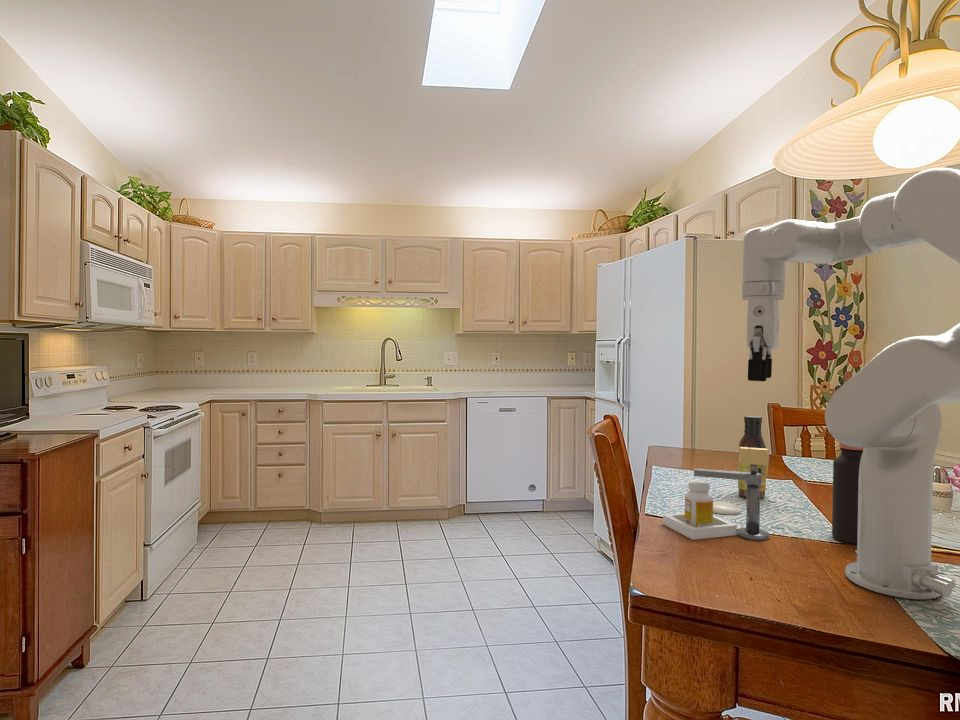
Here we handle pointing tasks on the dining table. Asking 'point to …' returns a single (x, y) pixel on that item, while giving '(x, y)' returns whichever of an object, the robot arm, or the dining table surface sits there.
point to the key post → (753, 517)
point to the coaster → (725, 508)
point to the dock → (717, 530)
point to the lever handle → (746, 457)
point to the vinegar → (846, 494)
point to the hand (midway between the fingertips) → (759, 379)
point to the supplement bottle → (698, 504)
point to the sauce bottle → (752, 440)
